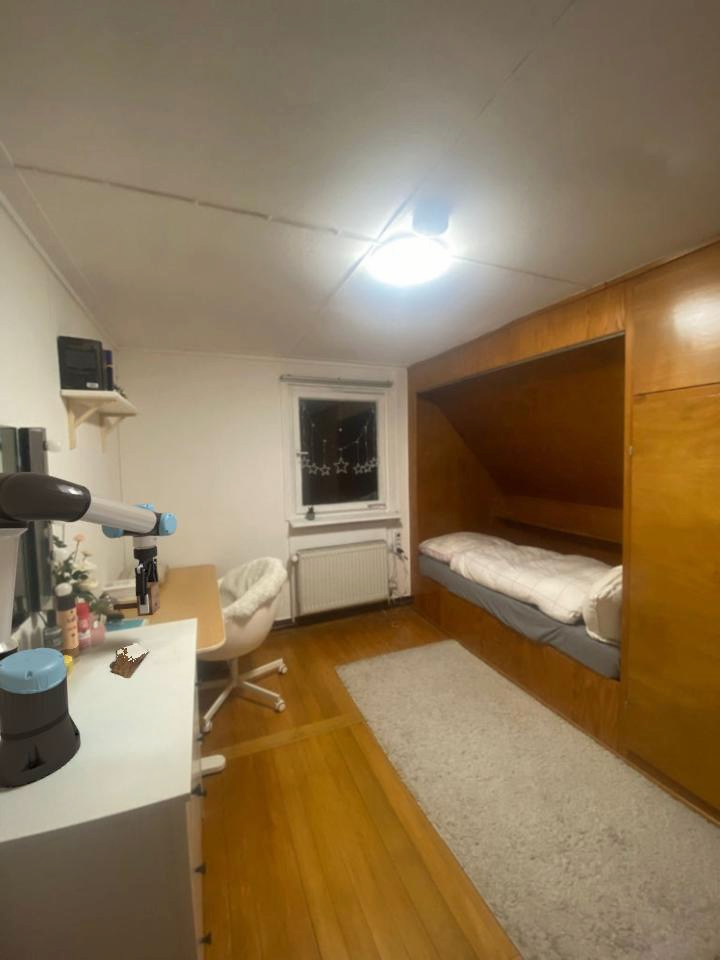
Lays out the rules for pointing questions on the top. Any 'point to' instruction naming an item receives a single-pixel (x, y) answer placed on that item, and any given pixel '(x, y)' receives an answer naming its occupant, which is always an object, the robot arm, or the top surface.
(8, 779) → the robot arm
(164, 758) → the top surface
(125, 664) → the wooden fragment
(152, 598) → the marking gauge
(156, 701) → the top surface
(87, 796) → the top surface
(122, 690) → the top surface
